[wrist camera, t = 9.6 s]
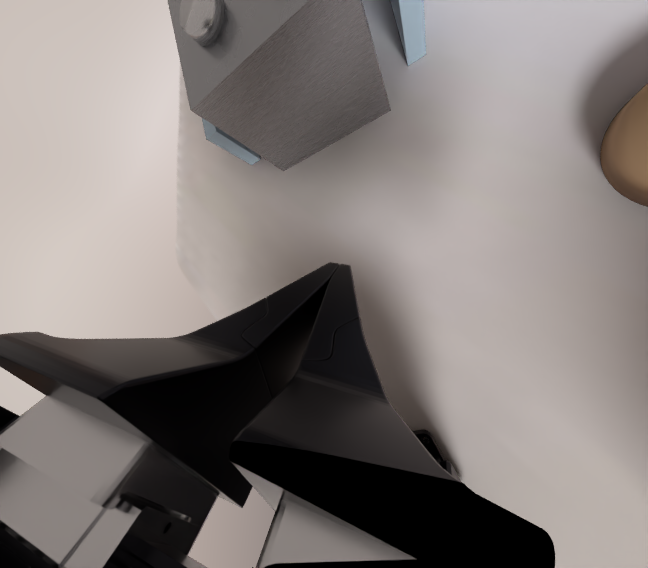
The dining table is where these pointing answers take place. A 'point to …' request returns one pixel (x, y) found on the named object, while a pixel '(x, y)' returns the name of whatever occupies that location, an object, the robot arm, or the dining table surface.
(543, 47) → the dining table surface
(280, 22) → the engine block
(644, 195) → the walnut wheel
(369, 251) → the dining table surface
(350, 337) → the robot arm
